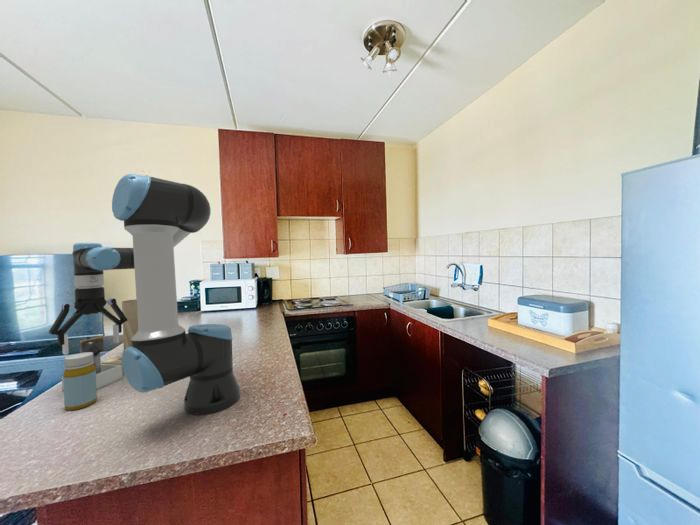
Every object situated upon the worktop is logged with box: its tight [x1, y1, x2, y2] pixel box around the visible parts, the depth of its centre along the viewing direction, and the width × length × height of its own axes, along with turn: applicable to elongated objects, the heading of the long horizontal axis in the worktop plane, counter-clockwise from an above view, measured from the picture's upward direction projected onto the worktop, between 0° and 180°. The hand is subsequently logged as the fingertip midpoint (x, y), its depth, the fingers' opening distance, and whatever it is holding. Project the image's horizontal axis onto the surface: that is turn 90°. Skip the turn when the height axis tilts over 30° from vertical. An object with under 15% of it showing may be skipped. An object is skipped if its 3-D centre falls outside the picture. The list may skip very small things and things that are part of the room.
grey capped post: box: [79, 336, 105, 374], centre depth 97 cm, size 6×6×16 cm
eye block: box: [101, 354, 125, 375], centre depth 112 cm, size 12×12×4 cm
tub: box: [61, 364, 123, 392], centre depth 97 cm, size 11×11×5 cm
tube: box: [121, 299, 138, 351], centre depth 128 cm, size 10×10×25 cm
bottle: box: [62, 352, 98, 411], centre depth 83 cm, size 7×7×15 cm
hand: (92, 347), depth 97 cm, fingers open, 13 cm apart
